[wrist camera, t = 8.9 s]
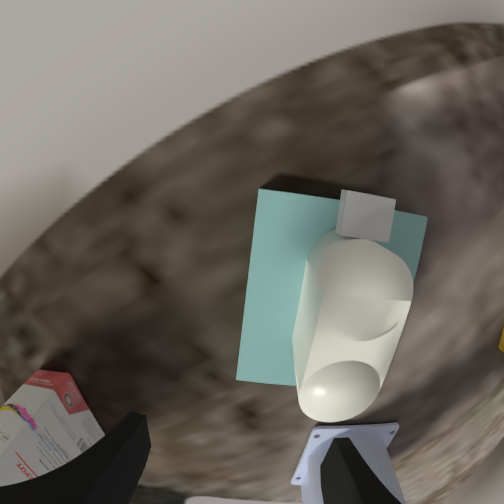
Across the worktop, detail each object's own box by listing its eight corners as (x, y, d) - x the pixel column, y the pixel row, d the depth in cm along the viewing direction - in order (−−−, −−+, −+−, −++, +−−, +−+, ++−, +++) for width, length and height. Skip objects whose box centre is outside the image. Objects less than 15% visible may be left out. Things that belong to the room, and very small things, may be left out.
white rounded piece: (346, 369, 18) (365, 421, 13) (286, 365, 18) (291, 421, 13) (386, 198, 15) (432, 207, 10) (317, 185, 15) (341, 188, 10)
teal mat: (373, 377, 19) (378, 387, 18) (237, 369, 19) (236, 379, 18) (418, 214, 16) (427, 217, 15) (259, 188, 16) (258, 189, 15)
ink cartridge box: (37, 367, 21) (-51, 458, 7) (71, 371, 20) (-23, 484, 6) (73, 430, 23) (14, 523, 9) (108, 437, 22) (52, 546, 8)
